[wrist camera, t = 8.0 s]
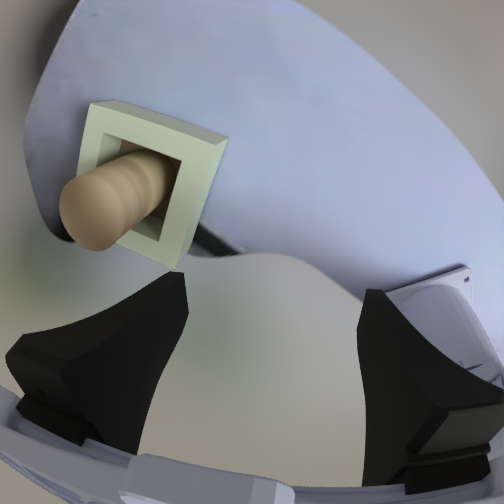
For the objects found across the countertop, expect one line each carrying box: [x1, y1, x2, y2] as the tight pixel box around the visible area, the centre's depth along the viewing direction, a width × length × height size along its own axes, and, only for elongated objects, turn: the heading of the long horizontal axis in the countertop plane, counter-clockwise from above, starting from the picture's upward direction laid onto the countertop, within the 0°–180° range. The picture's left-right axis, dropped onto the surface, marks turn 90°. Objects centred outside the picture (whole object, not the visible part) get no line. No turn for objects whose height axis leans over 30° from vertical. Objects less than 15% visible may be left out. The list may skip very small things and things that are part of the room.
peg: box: [59, 148, 176, 251], centre depth 17 cm, size 4×4×7 cm
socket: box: [76, 100, 228, 270], centre depth 19 cm, size 8×8×3 cm
